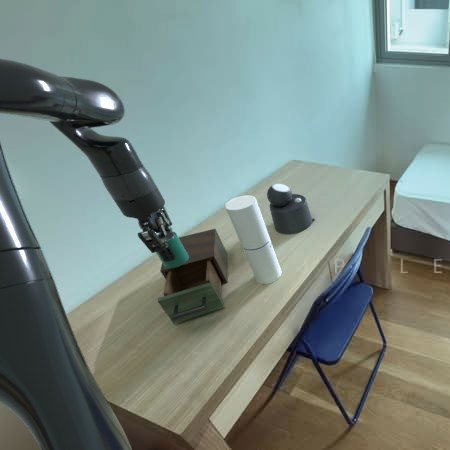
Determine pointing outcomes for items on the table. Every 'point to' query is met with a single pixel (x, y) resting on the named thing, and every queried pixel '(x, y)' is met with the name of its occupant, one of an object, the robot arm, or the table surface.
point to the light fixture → (288, 210)
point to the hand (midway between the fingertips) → (171, 252)
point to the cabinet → (203, 252)
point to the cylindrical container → (254, 238)
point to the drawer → (192, 291)
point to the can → (175, 251)
